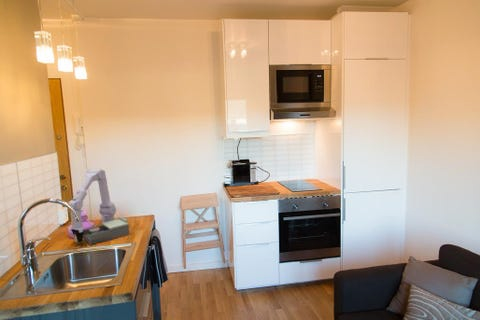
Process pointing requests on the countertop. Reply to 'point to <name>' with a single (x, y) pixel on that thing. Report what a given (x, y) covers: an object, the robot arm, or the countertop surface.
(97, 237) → the housing
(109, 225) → the lid
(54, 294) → the countertop surface
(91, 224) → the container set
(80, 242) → the peg
